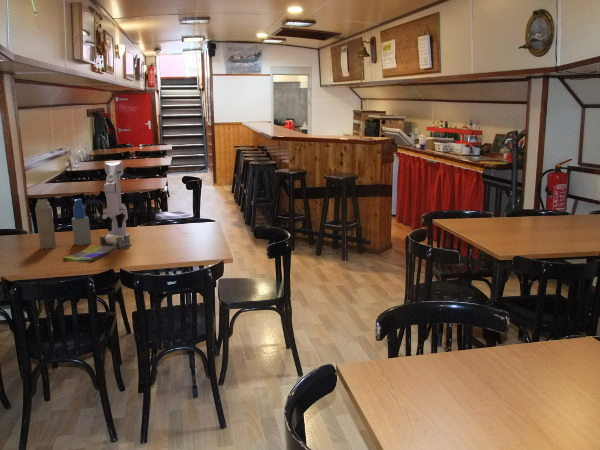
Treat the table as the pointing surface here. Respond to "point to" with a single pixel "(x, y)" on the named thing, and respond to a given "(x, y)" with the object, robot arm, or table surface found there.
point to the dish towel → (91, 254)
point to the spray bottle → (80, 224)
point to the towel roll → (113, 239)
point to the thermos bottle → (45, 223)
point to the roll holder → (119, 244)
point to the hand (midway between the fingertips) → (115, 229)
